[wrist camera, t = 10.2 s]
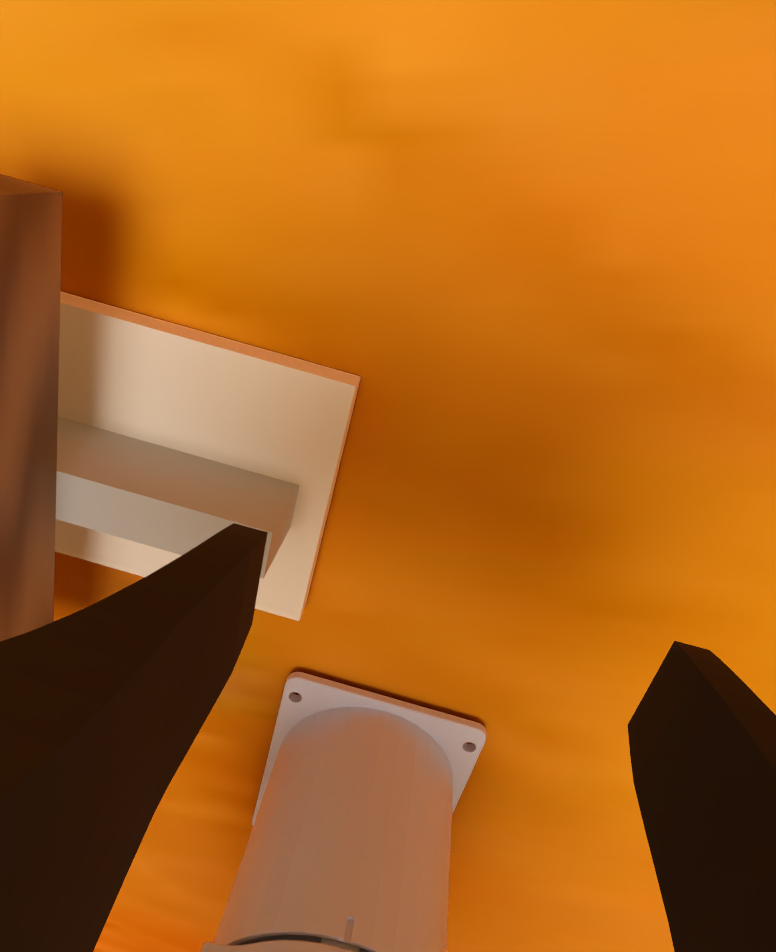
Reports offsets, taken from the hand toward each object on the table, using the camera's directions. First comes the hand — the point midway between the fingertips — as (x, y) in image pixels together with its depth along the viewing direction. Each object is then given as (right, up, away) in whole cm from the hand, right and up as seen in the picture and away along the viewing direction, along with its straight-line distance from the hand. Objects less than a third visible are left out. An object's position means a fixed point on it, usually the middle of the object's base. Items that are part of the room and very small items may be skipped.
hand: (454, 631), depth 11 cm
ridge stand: (-12, +4, +11) cm, 16 cm away
